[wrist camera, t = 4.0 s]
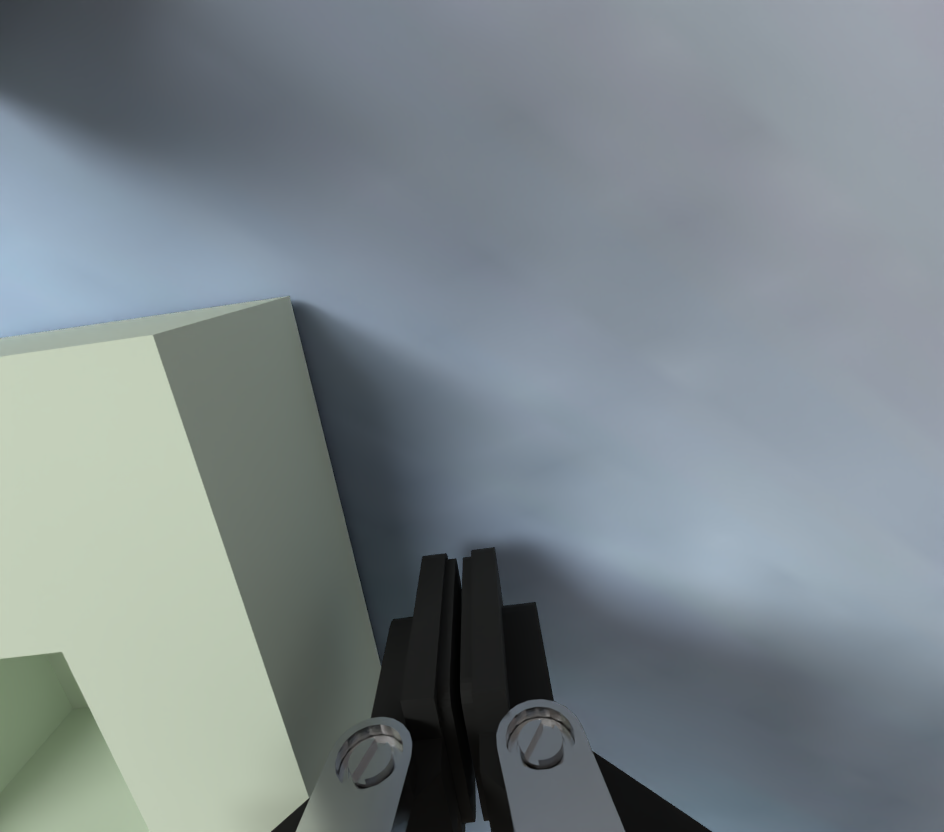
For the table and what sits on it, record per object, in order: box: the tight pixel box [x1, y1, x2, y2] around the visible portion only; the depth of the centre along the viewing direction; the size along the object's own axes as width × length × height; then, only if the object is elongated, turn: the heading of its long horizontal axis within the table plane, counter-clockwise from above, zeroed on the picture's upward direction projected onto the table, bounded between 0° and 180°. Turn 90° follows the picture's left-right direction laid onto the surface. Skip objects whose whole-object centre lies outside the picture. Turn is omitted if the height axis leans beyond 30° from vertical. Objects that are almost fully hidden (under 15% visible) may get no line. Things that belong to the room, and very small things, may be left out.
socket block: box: [0, 296, 381, 832], centre depth 11 cm, size 12×14×5 cm
